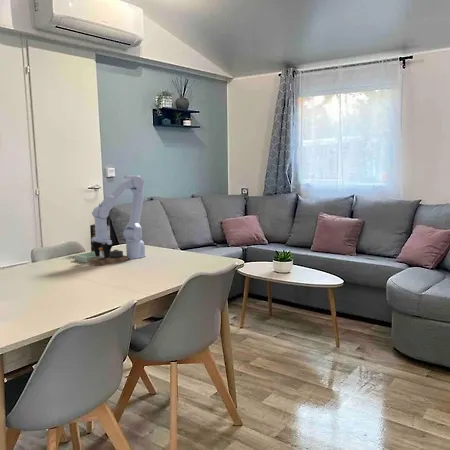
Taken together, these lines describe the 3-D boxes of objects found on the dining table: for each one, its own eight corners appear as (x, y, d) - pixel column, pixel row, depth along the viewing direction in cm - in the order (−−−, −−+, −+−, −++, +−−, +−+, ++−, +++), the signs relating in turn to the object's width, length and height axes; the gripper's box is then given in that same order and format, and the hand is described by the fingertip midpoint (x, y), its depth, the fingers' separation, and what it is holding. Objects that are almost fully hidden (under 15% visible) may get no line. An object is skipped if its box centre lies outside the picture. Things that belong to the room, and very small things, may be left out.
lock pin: (103, 262, 241) (102, 246, 240) (107, 263, 239) (106, 247, 238) (98, 263, 239) (97, 247, 238) (101, 264, 237) (101, 248, 236)
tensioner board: (118, 257, 251) (118, 247, 251) (128, 259, 246) (127, 249, 246) (89, 263, 238) (89, 253, 237) (98, 265, 233) (98, 255, 232)
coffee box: (90, 253, 263) (89, 225, 261) (97, 251, 270) (95, 223, 267) (105, 254, 261) (103, 225, 259) (111, 252, 267) (110, 224, 265)
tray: (93, 257, 254) (92, 251, 254) (105, 259, 247) (105, 254, 246) (74, 260, 246) (74, 254, 245) (86, 263, 238) (86, 257, 238)
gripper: (86, 230, 238) (87, 256, 240) (102, 232, 229) (104, 260, 231) (97, 228, 244) (99, 254, 246) (114, 231, 234) (115, 257, 236)
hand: (102, 256), depth 239 cm, fingers open, 7 cm apart
